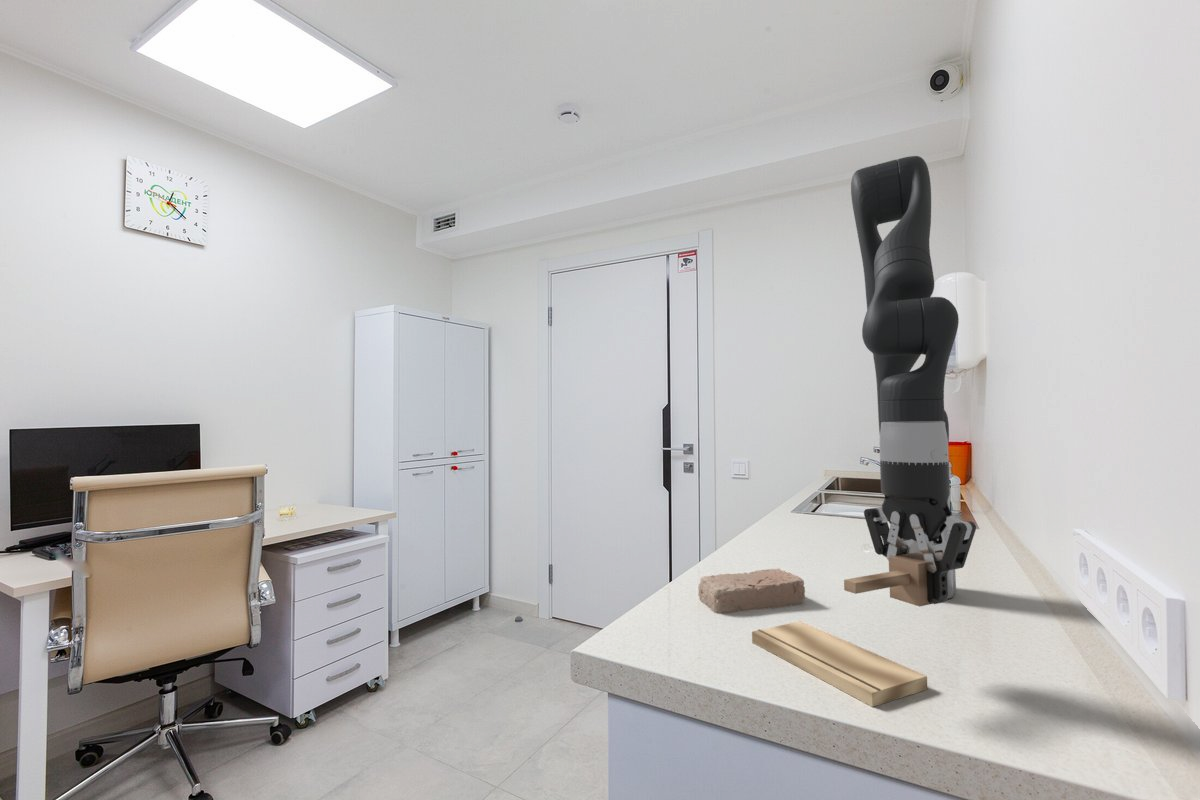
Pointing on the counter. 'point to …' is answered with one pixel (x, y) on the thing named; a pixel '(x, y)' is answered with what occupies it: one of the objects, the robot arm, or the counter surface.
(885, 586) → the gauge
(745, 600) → the brick
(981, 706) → the counter surface
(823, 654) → the board
